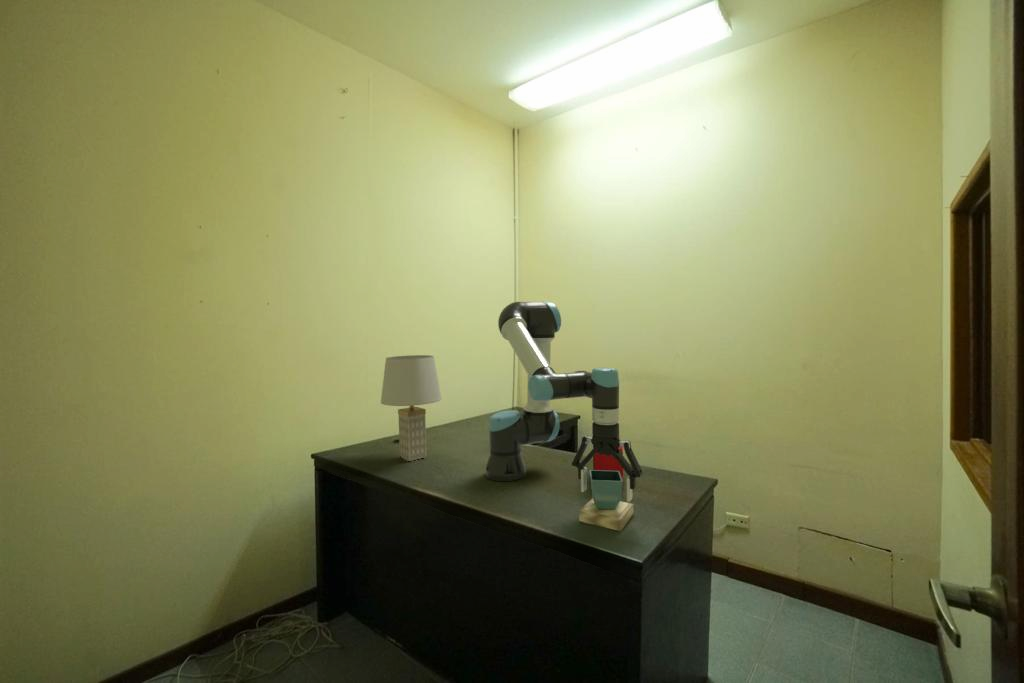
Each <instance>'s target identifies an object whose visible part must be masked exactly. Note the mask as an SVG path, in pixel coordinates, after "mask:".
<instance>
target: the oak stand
mask: <svg viewBox="0 0 1024 683" xmlns="http://www.w3.org/2000/svg"><path fill="white" fill-rule="evenodd" d="M634 510H635V508H634V503H630V502H627V501H626V502H625V501H621V500H620V502H619V504H618V506H617V507H616V509H600V508H597V507H596V505H595V503H594V500H593V497H592V498H591V499H590V500H589V501H587V503H586V504H585V505H584V506H582V508H580V509H579V511H578V517H579V518H578V521H579V522H582V523H586V524H590V525H592V526H593V525H594V526H597V527H602V528H606V529H611V530H614V531H619V532H622V531H623V529H624V527H626V524H628V522H629V521H630V519H631V518H632V517H633V515H634V512H635V511H634Z"/></svg>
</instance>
